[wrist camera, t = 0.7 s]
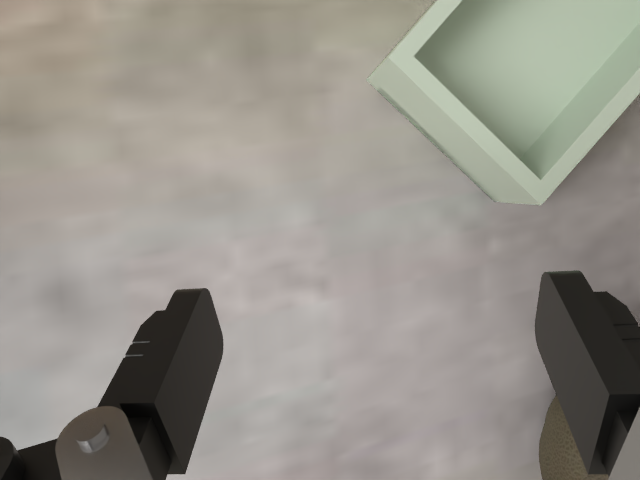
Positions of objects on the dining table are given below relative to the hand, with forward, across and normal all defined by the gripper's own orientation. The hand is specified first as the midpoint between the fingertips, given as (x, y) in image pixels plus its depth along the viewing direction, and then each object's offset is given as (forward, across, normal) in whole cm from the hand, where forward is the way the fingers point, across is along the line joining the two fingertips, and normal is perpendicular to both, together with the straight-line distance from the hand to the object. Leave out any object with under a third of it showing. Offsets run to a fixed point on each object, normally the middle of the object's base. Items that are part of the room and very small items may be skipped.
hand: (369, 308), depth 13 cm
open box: (+28, -12, -1) cm, 30 cm away
